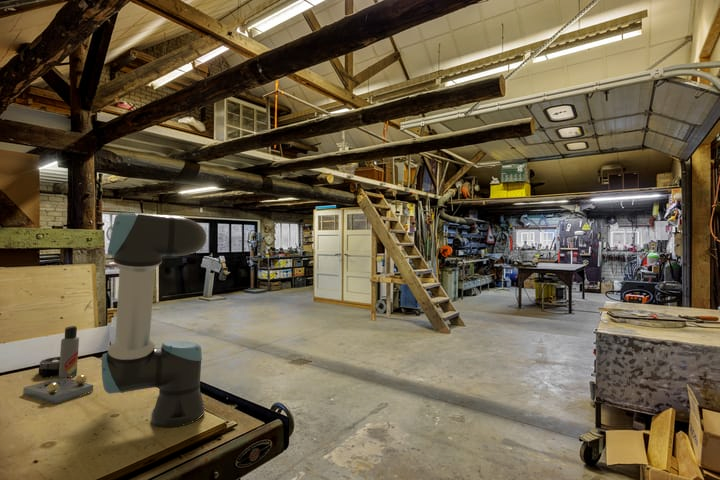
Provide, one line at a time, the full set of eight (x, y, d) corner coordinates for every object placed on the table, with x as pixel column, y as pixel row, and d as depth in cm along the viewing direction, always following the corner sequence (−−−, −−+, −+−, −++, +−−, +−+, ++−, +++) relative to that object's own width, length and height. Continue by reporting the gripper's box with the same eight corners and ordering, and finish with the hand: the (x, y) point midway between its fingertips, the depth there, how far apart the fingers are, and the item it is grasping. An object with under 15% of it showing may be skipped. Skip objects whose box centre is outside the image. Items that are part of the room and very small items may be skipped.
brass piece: (88, 383, 132) (88, 374, 132) (78, 386, 129) (79, 377, 129) (82, 382, 133) (83, 373, 133) (73, 384, 130) (73, 375, 130)
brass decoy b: (60, 391, 124) (61, 382, 124) (49, 395, 121) (50, 385, 121) (54, 390, 125) (55, 380, 125) (43, 393, 122) (44, 383, 122)
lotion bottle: (79, 375, 146) (82, 326, 147) (61, 379, 141) (65, 328, 142) (73, 372, 149) (76, 324, 150) (56, 376, 144) (59, 326, 145)
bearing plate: (92, 391, 131) (93, 384, 131) (54, 404, 120) (55, 396, 120) (61, 383, 137) (62, 377, 137) (23, 394, 126) (23, 387, 126)
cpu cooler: (68, 354, 156) (74, 359, 150) (67, 367, 156) (74, 373, 149) (36, 359, 148) (42, 365, 141) (35, 373, 148) (41, 379, 141)
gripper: (157, 263, 141) (153, 323, 140) (132, 262, 145) (128, 320, 144) (139, 263, 134) (136, 327, 133) (114, 262, 138) (110, 323, 137)
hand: (132, 323), depth 138 cm, fingers closed
